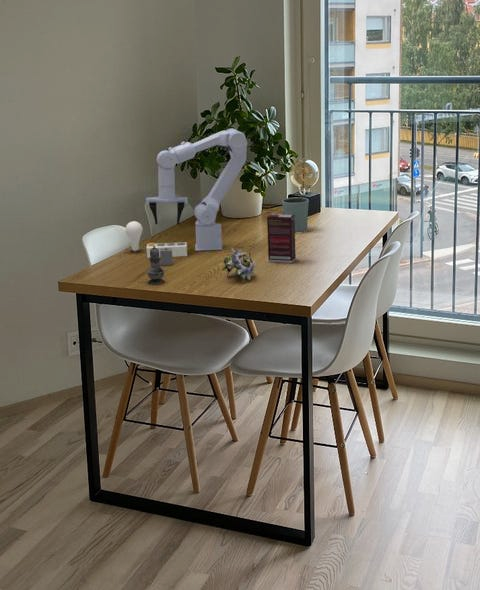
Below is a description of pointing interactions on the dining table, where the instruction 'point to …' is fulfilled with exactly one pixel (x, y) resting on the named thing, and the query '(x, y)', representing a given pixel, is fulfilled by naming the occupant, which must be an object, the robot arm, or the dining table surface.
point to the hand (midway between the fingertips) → (167, 223)
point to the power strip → (177, 248)
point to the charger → (166, 256)
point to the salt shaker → (155, 267)
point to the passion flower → (240, 264)
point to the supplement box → (281, 238)
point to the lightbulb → (134, 234)
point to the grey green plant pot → (297, 211)
